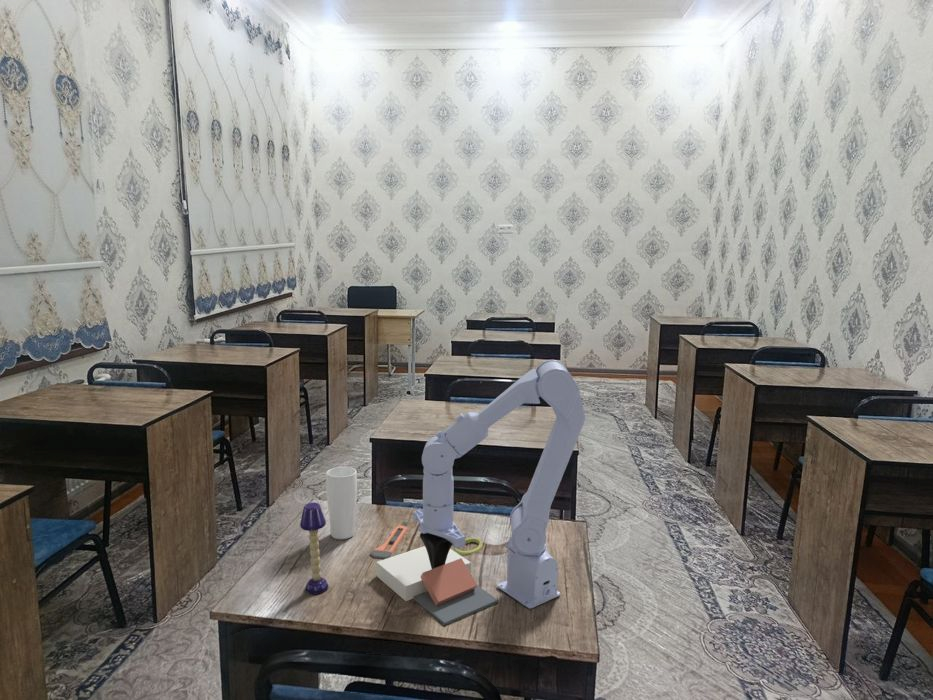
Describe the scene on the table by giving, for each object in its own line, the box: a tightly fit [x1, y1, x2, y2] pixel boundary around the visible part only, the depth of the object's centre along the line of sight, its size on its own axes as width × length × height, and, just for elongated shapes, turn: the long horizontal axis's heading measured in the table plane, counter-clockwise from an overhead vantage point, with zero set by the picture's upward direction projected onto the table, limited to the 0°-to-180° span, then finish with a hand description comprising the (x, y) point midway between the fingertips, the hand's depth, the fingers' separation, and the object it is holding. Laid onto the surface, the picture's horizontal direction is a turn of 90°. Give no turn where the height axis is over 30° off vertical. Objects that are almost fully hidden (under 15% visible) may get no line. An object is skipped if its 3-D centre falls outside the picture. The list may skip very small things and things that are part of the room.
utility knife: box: [369, 521, 409, 560], centre depth 139 cm, size 4×1×18 cm
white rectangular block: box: [375, 545, 472, 602], centre depth 123 cm, size 11×15×3 cm
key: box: [453, 537, 484, 556], centre depth 137 cm, size 7×12×2 cm, turn 64°
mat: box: [412, 584, 499, 626], centre depth 115 cm, size 10×12×1 cm
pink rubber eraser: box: [421, 558, 478, 606], centre depth 116 cm, size 6×9×2 cm
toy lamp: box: [299, 502, 329, 595], centre depth 117 cm, size 5×5×17 cm
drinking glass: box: [325, 466, 358, 540], centre depth 139 cm, size 7×7×15 cm
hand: (437, 568), depth 119 cm, fingers closed
